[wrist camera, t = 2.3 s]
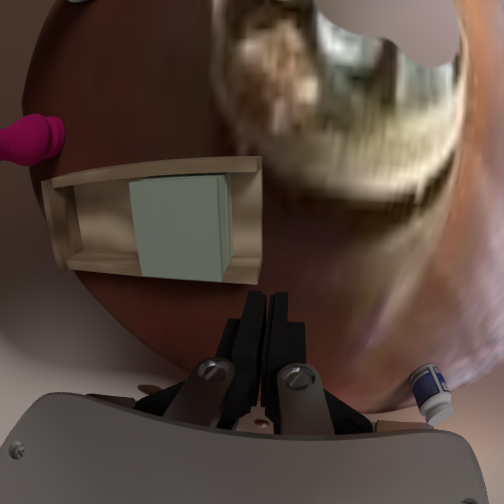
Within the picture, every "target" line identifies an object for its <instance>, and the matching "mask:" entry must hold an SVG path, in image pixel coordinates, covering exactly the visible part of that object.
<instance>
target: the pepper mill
mask: <svg viewBox="0 0 504 504" xmlns="http://www.w3.org/2000/svg"><path fill="white" fill-rule="evenodd" d="M64 140H65V128H64V124H63V122H62V120H61V119H60V118H59V117H55V116H51V117H44V116H42V115H41V114H31V115H27V116H25V117H23V118H21V119H19V120H18V121H16V122H15V123H13V124H12V125H10V126H9V127H6V128H4V129H0V161H2V160H7V161H11V162H13V163H16V164H18V165H22V166H31V165H35V164H37V163H39V162H40V161H41V160H42V159H48V158H53V157H55V156H56V155H58V153H59V152H60V151H61V149H62V147H63V144H64Z"/></svg>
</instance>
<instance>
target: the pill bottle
mask: <svg viewBox="0 0 504 504" xmlns="http://www.w3.org/2000/svg"><path fill="white" fill-rule="evenodd" d="M410 385H411V388H412V391H413V394H414V396H415V399H416V402H417V405H418V408H419V411H420V413H421V414H422V415H423V416H426V423H427V424H429V425H431V426H435V425H438V424H440V423H442V422H444V421H445V420H447V419H448V418H449V417H450V416H451V415H452V414H453V412H454V409H453V406H452V404H450V401H451V393H450V391H449V389H448V387H447V385H446V382H445V380H444V378H443V376H442V374H441V372H440V370H439V368H438V366H437V365H435V364H428V365H425V366H422V367H421V368H419V369H418V370H417V371H415V372H414V374H413V375H412V376H411V378H410Z"/></svg>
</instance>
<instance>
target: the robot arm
mask: <svg viewBox="0 0 504 504" xmlns="http://www.w3.org/2000/svg"><path fill="white" fill-rule="evenodd" d="M68 1H70V2H72V3H82V2H85V1H88V0H68ZM266 301H267V295H265V294H262V291H252V290H249V292H248V296H247V299H246V303H245V306H244V310H243V313H242V317H241V319H234V318H229V319H228V321H227V324H226V327H225V330H224V332H223V335H222V338H221V341H220V344H219V347H218V350H217V352H216V355H215V357H209V358H206V359H203V360H202V361H200V362H198V364H197V365H196V366H195V367H194V369H193V370H192V372H191V373H190V375H189V376H188V378H187V380H185V381H183V382H180V383H178V384H176V385H173V386H171V387H168V388H166V389H163V390H161V391H158V392H156V393H153V394H151V395H148V396H146V397H144V398H142V399H140V400H139V401H135V399H134V398H127V397H117V396H108V395H100V394H86V395H82V394H75V393H67V392H55V393H48V394H46V395H43V396H42V397H40V398H39V399H37V400H36V401H35V402H34V403H33V404H32V405H31V406H30V407H29V408H28V410H27V411H26V412H25V413H24V414H23V415H22V417H21V418H20V420H19V421H18V422H17V423H16V425H15V426H14V428H13V429H12V430H11V432H10V433H9V435H8V436H7V438H6V439H5V441H4V443H3V444H2V446H1V448H0V504H489V502H488V496H487V491H486V486H485V483H484V479H483V475H482V472H481V469H480V466H479V463H478V460H477V458H476V456H475V454H474V452H473V450H472V448H471V446H470V444H469V443H468V442H467V441H466V440H465V439H464V438H463V437H462V436H460V435H458V434H456V433H453V432H450V431H444V430H438V429H434V428H433V426H431V425H429V424H427V423H422V422H397V421H385V420H377V422H370V421H369V420H368V419H367V418H366V417H365V416H363V415H362V414H360V413H359V412H357V411H356V410H354V409H353V408H351V407H350V406H348V405H347V404H345V403H344V402H342V401H341V400H339V399H338V398H336V397H335V396H333V395H332V394H331V393H329V392H328V391H326V390H325V389H323V387H322V383H321V379H320V376H319V374H318V372H317V371H316V370H315V369H314V368H313V367H311V366H309V365H307V364H306V341H305V323H304V322H287V314H288V292H276V294H275V295H270V303H269V310H268V316H267V323H266ZM260 380H261V407H265V416H266V417H267V418H268V419H270V420H271V421H272V422H273V434H261V433H250V432H242V431H236V428H237V426H238V423H239V418H241V417H242V416H244V415H246V414H247V413H250V410H251V406H256V405H257V399H258V393H259V387H260Z"/></svg>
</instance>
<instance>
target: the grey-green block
mask: <svg viewBox="0 0 504 504" xmlns="http://www.w3.org/2000/svg"><path fill="white" fill-rule="evenodd" d="M129 189H130V199H131V207H132V215H133V223H134V230H135V237H136V243H137V249H138V255H139V261H140V266H141V272H142V276H148V277H160V278H173V279H186V280H200V281H216V282H222V281H223V279H224V273H225V271H226V269H227V267H228V265H230V264H231V259H232V257H233V255H234V249H233V221H232V189H231V172H219V173H191V174H172V175H158V176H149V177H148V178H147V179H143V180H140V181H133V182H130V183H129Z"/></svg>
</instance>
